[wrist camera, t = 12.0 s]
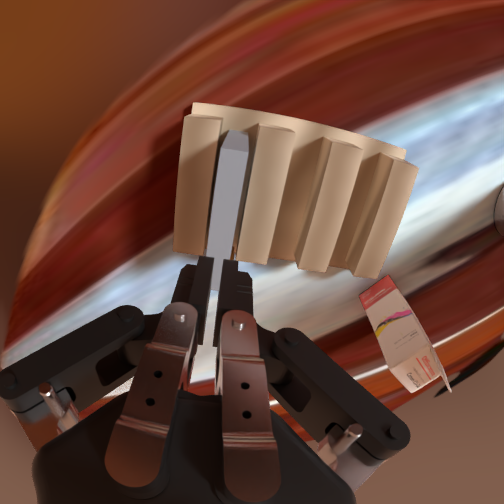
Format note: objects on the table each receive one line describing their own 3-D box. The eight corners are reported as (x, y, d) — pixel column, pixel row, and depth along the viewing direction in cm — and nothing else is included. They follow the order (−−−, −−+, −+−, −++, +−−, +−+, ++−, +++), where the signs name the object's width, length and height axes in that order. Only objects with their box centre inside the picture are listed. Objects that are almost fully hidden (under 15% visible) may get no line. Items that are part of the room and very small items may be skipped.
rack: (401, 148, 25) (422, 157, 22) (361, 265, 32) (373, 286, 29) (195, 102, 23) (186, 104, 20) (180, 240, 30) (172, 260, 27)
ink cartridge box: (355, 296, 35) (396, 395, 22) (388, 272, 33) (442, 366, 20) (383, 328, 38) (419, 415, 25) (411, 308, 36) (456, 392, 24)
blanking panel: (248, 132, 24) (248, 152, 16) (230, 234, 29) (224, 291, 21) (229, 129, 24) (220, 148, 16) (214, 231, 29) (202, 288, 21)
